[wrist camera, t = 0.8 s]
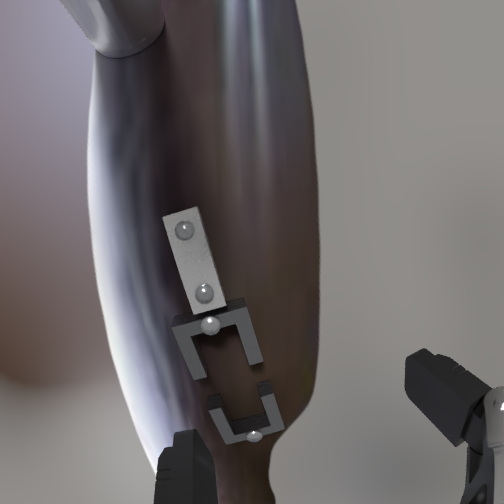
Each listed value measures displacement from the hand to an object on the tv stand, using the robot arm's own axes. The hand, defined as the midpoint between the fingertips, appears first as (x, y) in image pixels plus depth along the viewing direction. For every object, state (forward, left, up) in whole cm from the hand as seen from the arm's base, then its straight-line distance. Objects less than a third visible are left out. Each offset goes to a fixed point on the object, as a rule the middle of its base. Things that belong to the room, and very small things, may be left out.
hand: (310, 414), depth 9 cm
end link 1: (+7, -5, -24) cm, 25 cm away
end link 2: (+19, -5, -24) cm, 31 cm away
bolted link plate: (-3, -4, -24) cm, 24 cm away
